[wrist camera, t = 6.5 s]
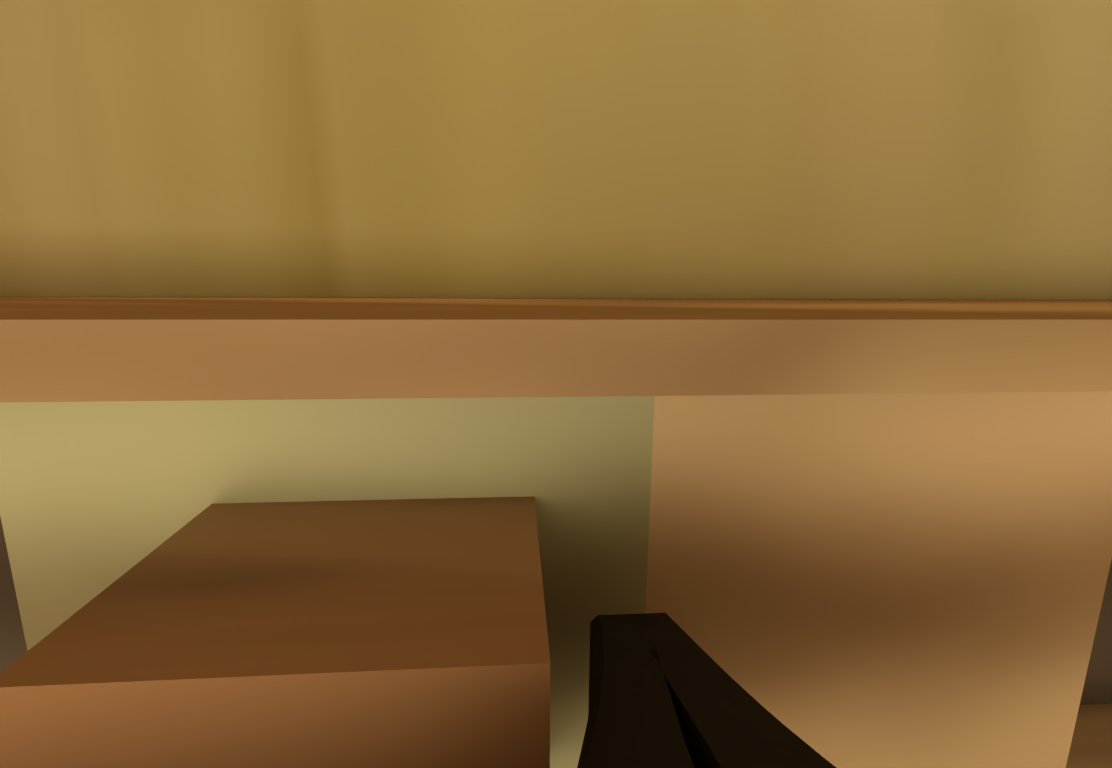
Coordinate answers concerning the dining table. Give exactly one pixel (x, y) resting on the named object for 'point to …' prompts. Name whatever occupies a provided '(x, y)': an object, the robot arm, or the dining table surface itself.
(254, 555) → the walnut block
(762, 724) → the robot arm
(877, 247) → the dining table surface
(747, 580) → the trap trough
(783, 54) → the dining table surface
